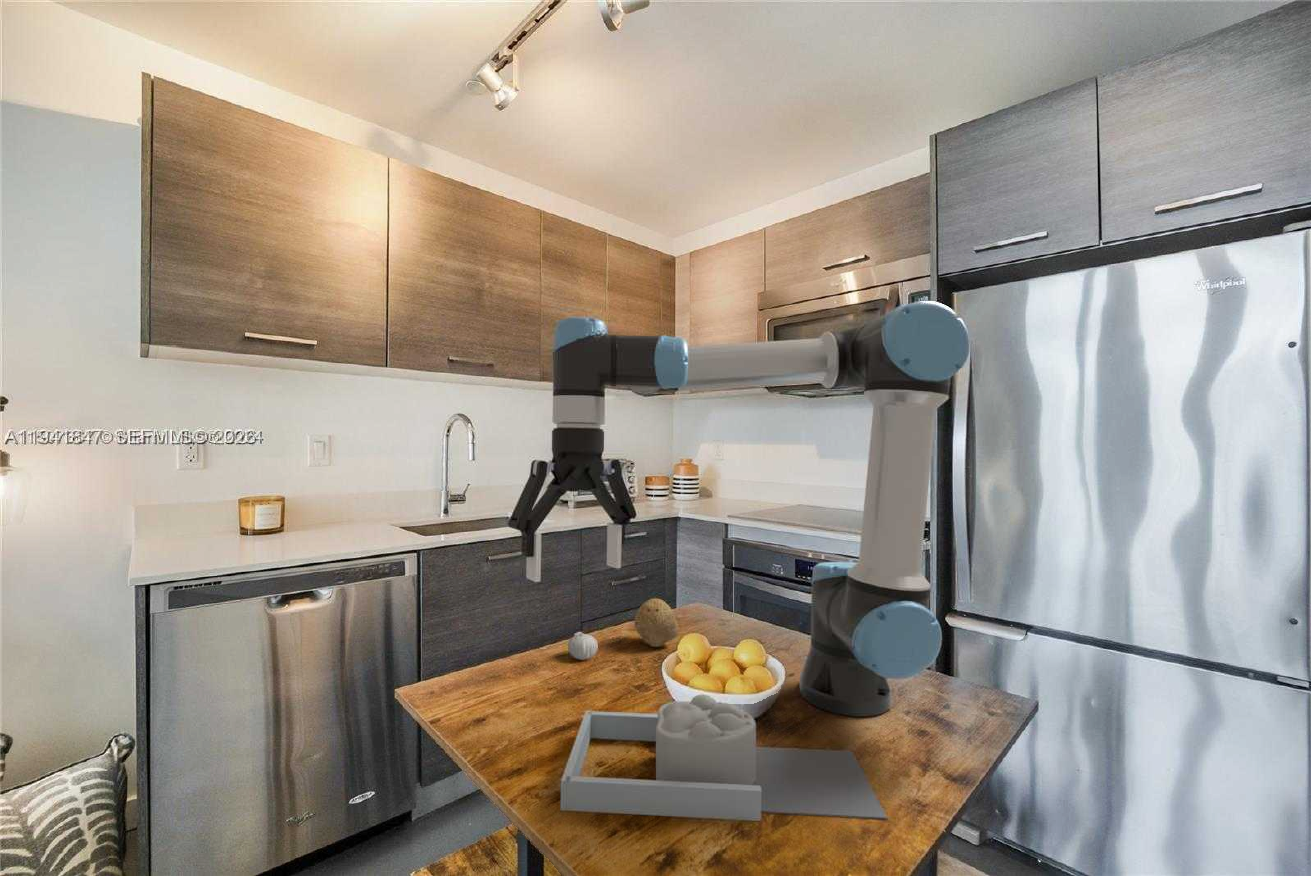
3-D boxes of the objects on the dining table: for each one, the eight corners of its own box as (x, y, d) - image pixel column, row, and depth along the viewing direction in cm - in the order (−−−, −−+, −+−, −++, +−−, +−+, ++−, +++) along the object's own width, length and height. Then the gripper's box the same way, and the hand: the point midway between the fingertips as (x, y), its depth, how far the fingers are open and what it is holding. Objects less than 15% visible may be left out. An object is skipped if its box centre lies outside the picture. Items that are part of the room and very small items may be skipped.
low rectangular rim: (744, 741, 83) (745, 718, 83) (760, 820, 66) (761, 790, 66) (585, 734, 84) (585, 710, 84) (560, 810, 67) (561, 780, 67)
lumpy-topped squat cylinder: (658, 750, 80) (658, 689, 80) (750, 753, 79) (751, 691, 79) (654, 797, 70) (654, 727, 70) (761, 800, 69) (761, 729, 69)
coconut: (627, 641, 122) (628, 594, 122) (664, 636, 126) (665, 591, 126) (643, 656, 114) (644, 606, 114) (682, 650, 117) (683, 602, 117)
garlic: (565, 663, 110) (565, 636, 110) (569, 652, 115) (569, 627, 115) (596, 663, 110) (596, 637, 110) (598, 653, 115) (599, 627, 115)
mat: (851, 752, 80) (851, 751, 80) (887, 819, 66) (887, 817, 66) (731, 746, 81) (731, 745, 81) (742, 811, 67) (742, 809, 67)
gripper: (630, 428, 93) (628, 557, 93) (485, 424, 77) (482, 580, 77) (660, 428, 87) (657, 566, 87) (509, 424, 71) (506, 592, 71)
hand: (575, 573), depth 82 cm, fingers open, 13 cm apart
